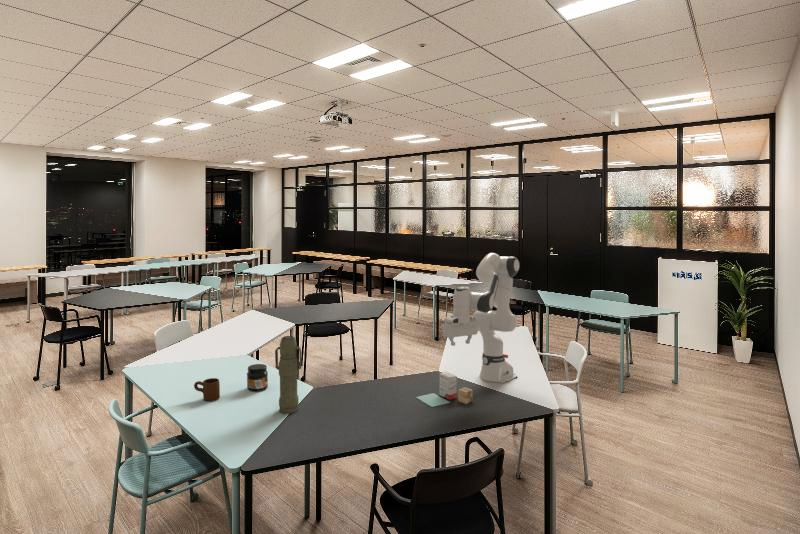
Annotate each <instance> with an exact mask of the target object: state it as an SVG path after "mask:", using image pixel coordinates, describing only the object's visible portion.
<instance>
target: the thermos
mask: <svg viewBox="0 0 800 534" xmlns="http://www.w3.org/2000/svg"><path fill="white" fill-rule="evenodd" d="M297 350H299V351H298V353H299V354H298V355H299V357H297ZM278 352H279V353H278ZM279 356H280V357H279ZM298 359H299V361H298ZM274 360H275V369H276V370H277V371H278V376H279V399H278V407H279V413H280V414H283V415H290V414H294V413H297V412H298V411H299V404H300V403H299V394H298V374H299V370H301V369H302V349H301V347H300V346H298V345H297V340H296V337H294V336H293V335H285V336H282V337H281V338H280V343H279V346H278V347H276V348H275V350H274Z"/></svg>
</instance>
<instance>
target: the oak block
mask: <svg viewBox="0 0 800 534" xmlns="http://www.w3.org/2000/svg"><path fill="white" fill-rule="evenodd" d="M457 393H458V394H457V398H458V399H457V401H458V402H459V403H463V404H465V405H467V404H469V403H471V402H473V389H471V388H469V387H466V386H465V387H464V386H463V387H461V388H459V389H458V390H457Z"/></svg>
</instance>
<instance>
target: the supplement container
mask: <svg viewBox="0 0 800 534" xmlns="http://www.w3.org/2000/svg"><path fill="white" fill-rule="evenodd" d="M267 367H268V366H267V365H266V364H263V363H256V364H251V365H249V366H248V367H247V372H246V382H247V383H246V385H247V386H246V388H247V390H248V391H250V392H255V393H256V392H257V393H258V392H262V391H265V390H267V389H268V387H269V383H268V382H269V381H268V371H267V370H268V369H267Z"/></svg>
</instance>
